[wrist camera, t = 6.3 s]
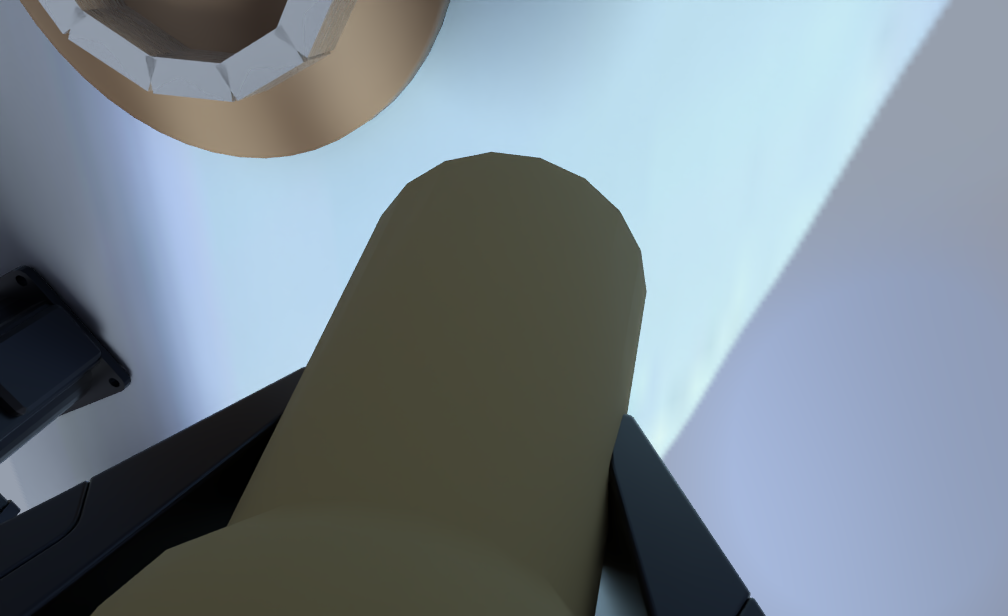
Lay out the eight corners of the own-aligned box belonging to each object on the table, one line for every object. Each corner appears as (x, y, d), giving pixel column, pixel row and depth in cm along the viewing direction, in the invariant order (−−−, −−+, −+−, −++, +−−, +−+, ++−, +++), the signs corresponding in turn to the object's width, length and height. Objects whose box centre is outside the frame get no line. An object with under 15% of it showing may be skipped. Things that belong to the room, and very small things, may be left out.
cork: (318, 209, 12) (-572, 956, 3) (593, 104, 11) (488, 1198, 1) (438, 423, 15) (155, 1197, 6) (679, 369, 13) (865, 1399, 4)
